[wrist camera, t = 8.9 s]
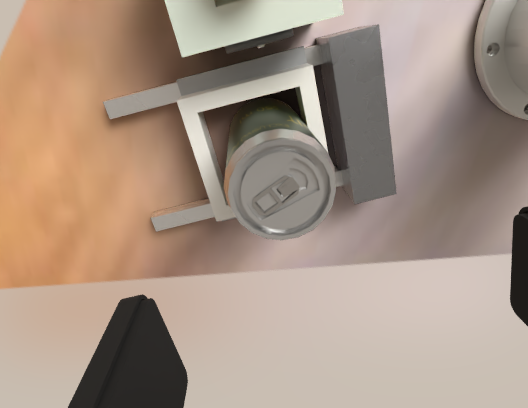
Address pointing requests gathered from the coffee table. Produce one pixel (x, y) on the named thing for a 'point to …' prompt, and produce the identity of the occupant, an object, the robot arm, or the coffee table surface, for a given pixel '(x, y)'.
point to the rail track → (339, 110)
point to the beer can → (277, 172)
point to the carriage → (236, 90)
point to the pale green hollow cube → (242, 21)
